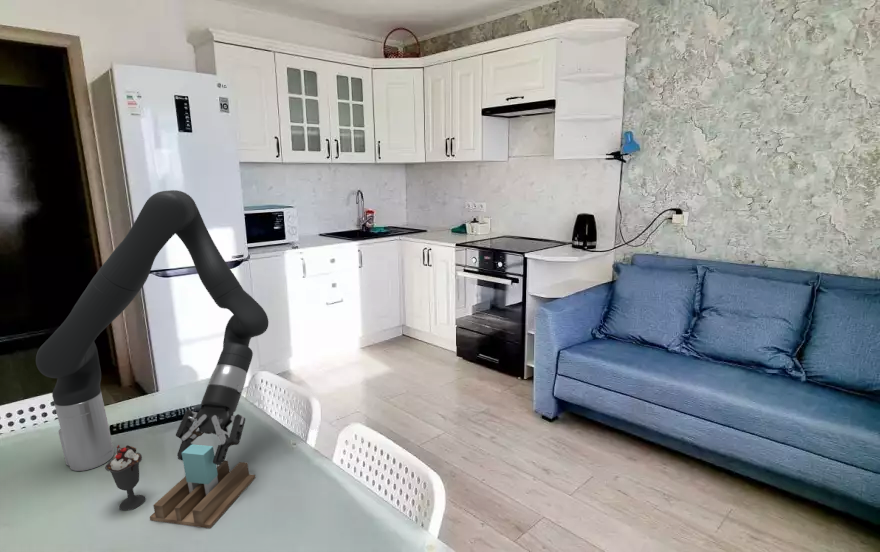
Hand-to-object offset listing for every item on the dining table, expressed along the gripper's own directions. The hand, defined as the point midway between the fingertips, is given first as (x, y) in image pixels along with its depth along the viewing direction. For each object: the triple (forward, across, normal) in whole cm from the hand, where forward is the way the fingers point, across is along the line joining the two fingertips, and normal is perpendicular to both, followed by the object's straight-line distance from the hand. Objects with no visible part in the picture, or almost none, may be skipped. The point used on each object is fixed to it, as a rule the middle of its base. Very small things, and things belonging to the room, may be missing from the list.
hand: (198, 462), depth 105 cm
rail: (+6, 0, +6) cm, 9 cm away
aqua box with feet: (+6, 0, +6) cm, 8 cm away
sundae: (+9, -15, +4) cm, 18 cm away
